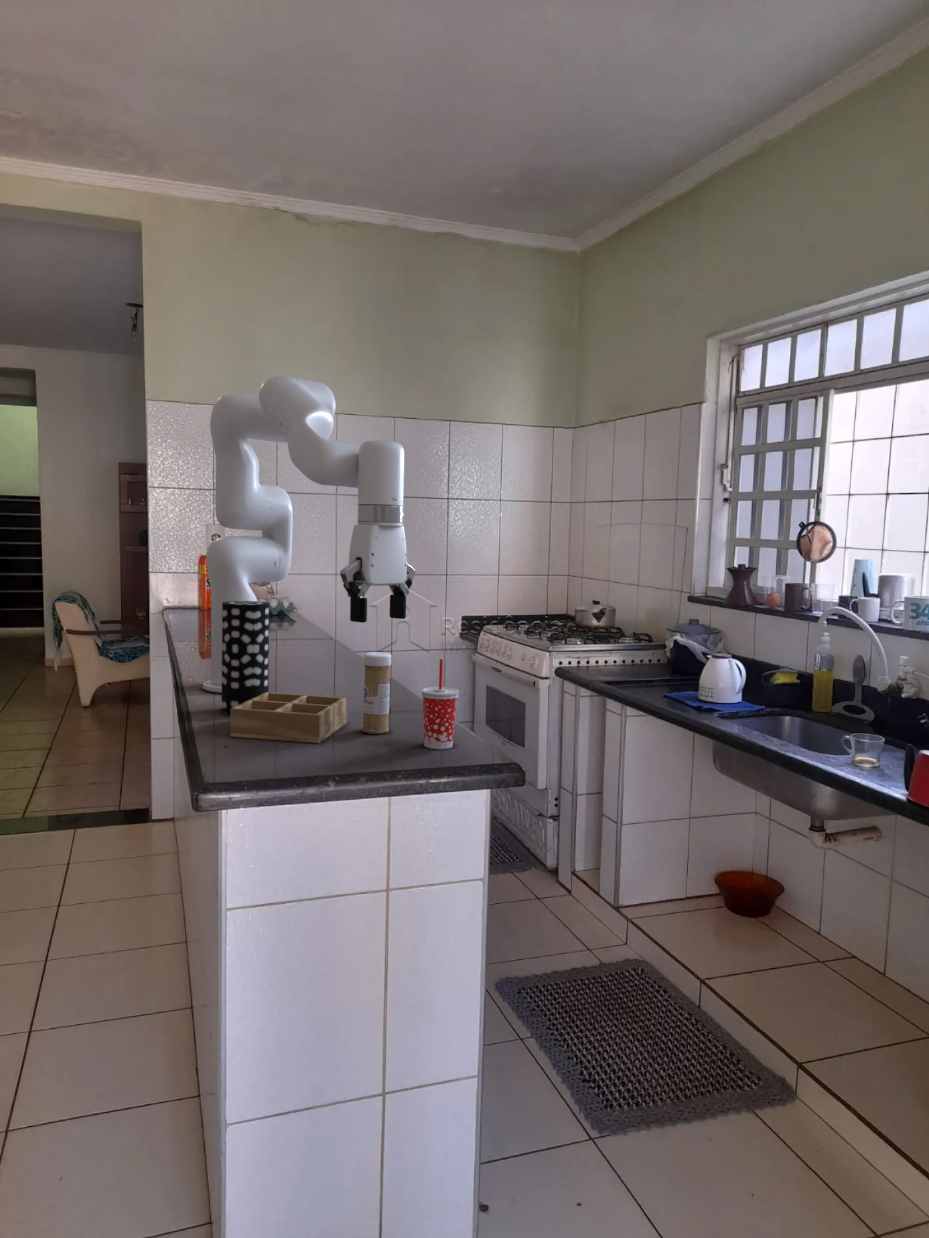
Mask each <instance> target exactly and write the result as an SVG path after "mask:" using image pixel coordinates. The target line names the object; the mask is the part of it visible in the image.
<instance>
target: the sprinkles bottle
mask: <svg viewBox="0 0 929 1238" xmlns="http://www.w3.org/2000/svg"><path fill="white" fill-rule="evenodd" d="M363 664H364V686H363V710H362V712H363V717H362V719H363V721H362V728H361V729H362V732H364V733H365V734H370V735H380V734H385V733H388V732H389V730H390V728H389V713H390V697H391V696H390V694H391V693H390V690H391V680H390V678H391V665H392V654H391V653H388V652H383V651H382V652H381V651H370V652H366V653H364V656H363Z"/></svg>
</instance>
